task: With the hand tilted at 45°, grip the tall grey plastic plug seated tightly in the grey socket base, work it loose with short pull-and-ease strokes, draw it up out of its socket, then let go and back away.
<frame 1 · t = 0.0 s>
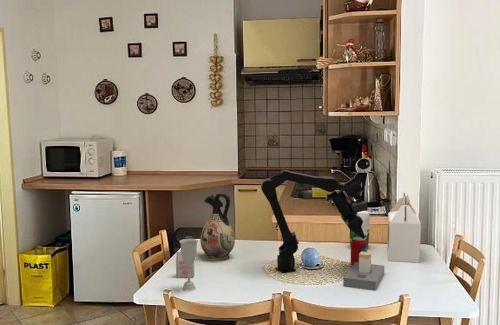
hand: (361, 235, 224), 15 cm above the table, tool tilted 35°, fingers open, 9 cm apart
ceramic jug: (219, 258, 243), on the table
beverage can: (358, 266, 232), on the table
milk carton: (358, 248, 261), on the table
chalice: (189, 288, 203), on the table
white red printed box: (185, 276, 217), on the table
grey socket base: (364, 280, 214), on the table
gable box: (402, 255, 249), on the table
plug: (364, 266, 213), point 6 cm above the table, slide at 0.0 cm
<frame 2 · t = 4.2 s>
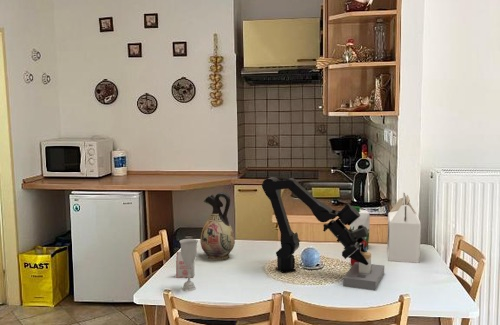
hand: (368, 262, 212), 7 cm above the table, tool tilted 45°, fingers closed on plug, 4 cm apart
plug: (364, 266, 213), point 5 cm above the table, slide at 0.0 cm, touching gripper
everything else where it was.
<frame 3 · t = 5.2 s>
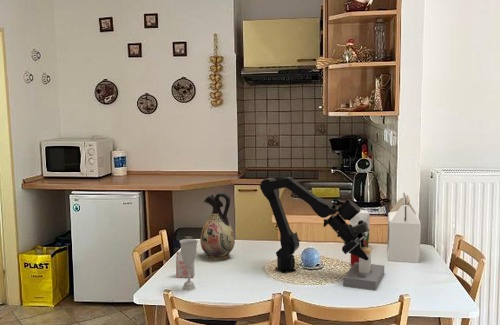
hand: (368, 258, 212), 9 cm above the table, tool tilted 45°, fingers closed on plug, 4 cm apart
plug: (365, 261, 213), point 7 cm above the table, slide at 1.8 cm, touching gripper
everything else where it was.
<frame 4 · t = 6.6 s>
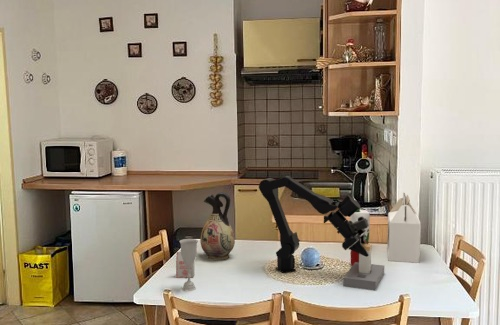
hand: (368, 254, 212), 10 cm above the table, tool tilted 45°, fingers closed on plug, 4 cm apart
plug: (365, 258, 213), point 9 cm above the table, slide at 3.3 cm, touching gripper
everything else where it was.
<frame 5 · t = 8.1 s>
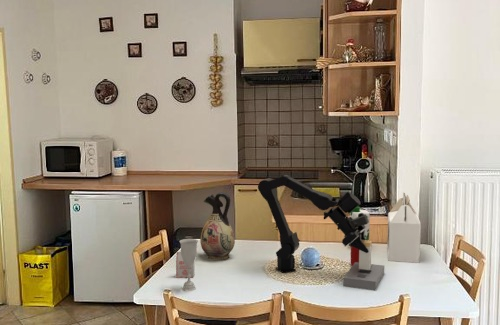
hand: (368, 250, 212), 12 cm above the table, tool tilted 45°, fingers closed on plug, 4 cm apart
plug: (365, 254, 213), point 10 cm above the table, slide at 4.7 cm, touching gripper
everything else where it was.
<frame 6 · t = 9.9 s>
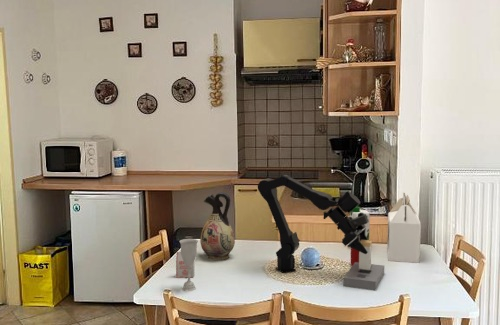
hand: (368, 250, 212), 12 cm above the table, tool tilted 45°, fingers open, 9 cm apart
plug: (365, 254, 213), point 10 cm above the table, slide at 4.8 cm
everything else where it was.
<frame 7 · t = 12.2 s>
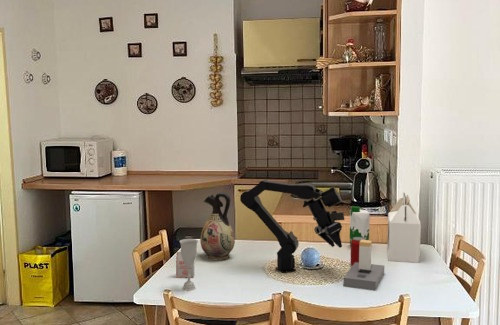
hand: (337, 246, 219), 11 cm above the table, tool tilted 30°, fingers open, 9 cm apart
nothing on the table moved.
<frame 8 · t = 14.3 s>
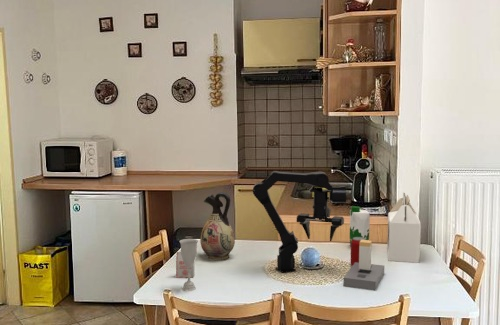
hand: (319, 240, 224), 13 cm above the table, tool pointing down, fingers open, 9 cm apart
nothing on the table moved.
at the end: plug slide at 4.8 cm; the gripper is holding nothing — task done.
